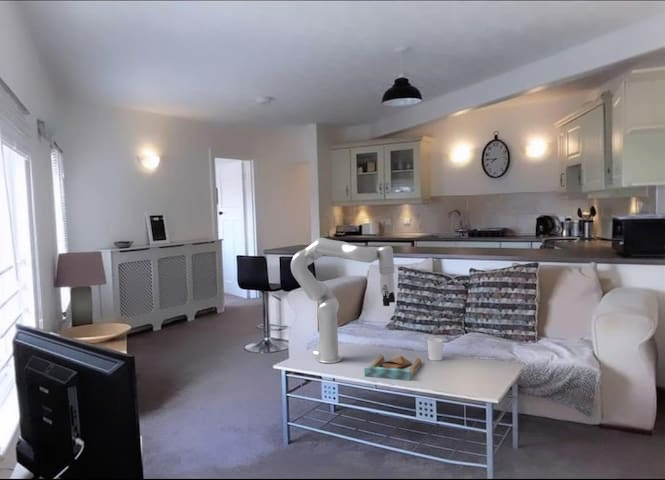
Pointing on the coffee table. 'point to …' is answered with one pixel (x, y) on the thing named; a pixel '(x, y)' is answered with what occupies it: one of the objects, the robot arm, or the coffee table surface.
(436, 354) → the white cup
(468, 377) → the coffee table surface
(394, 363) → the brown elongated piece
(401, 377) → the teal open box
